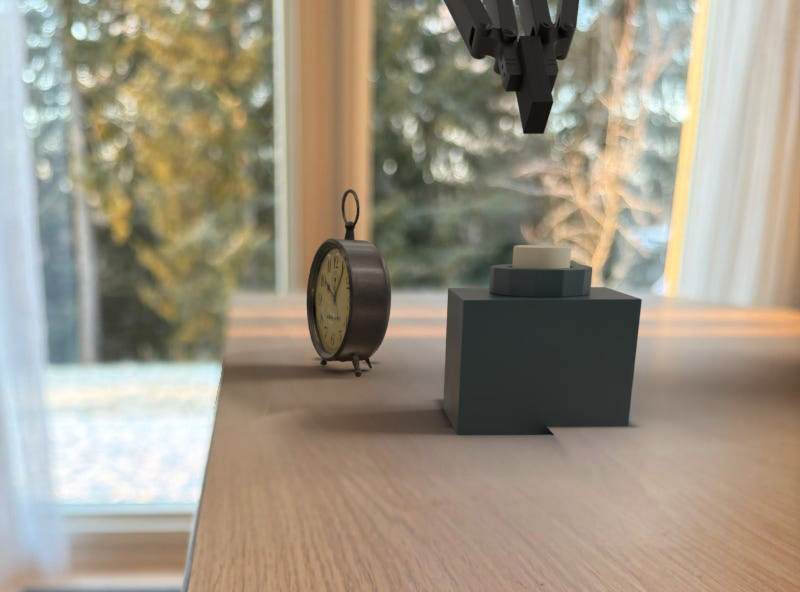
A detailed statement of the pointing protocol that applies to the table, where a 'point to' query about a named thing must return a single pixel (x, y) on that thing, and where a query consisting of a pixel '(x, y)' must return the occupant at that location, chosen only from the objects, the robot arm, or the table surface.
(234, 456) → the table surface
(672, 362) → the table surface
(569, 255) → the lid button
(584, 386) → the block with cream knob
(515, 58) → the robot arm
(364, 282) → the alarm clock
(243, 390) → the table surface
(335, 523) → the table surface
